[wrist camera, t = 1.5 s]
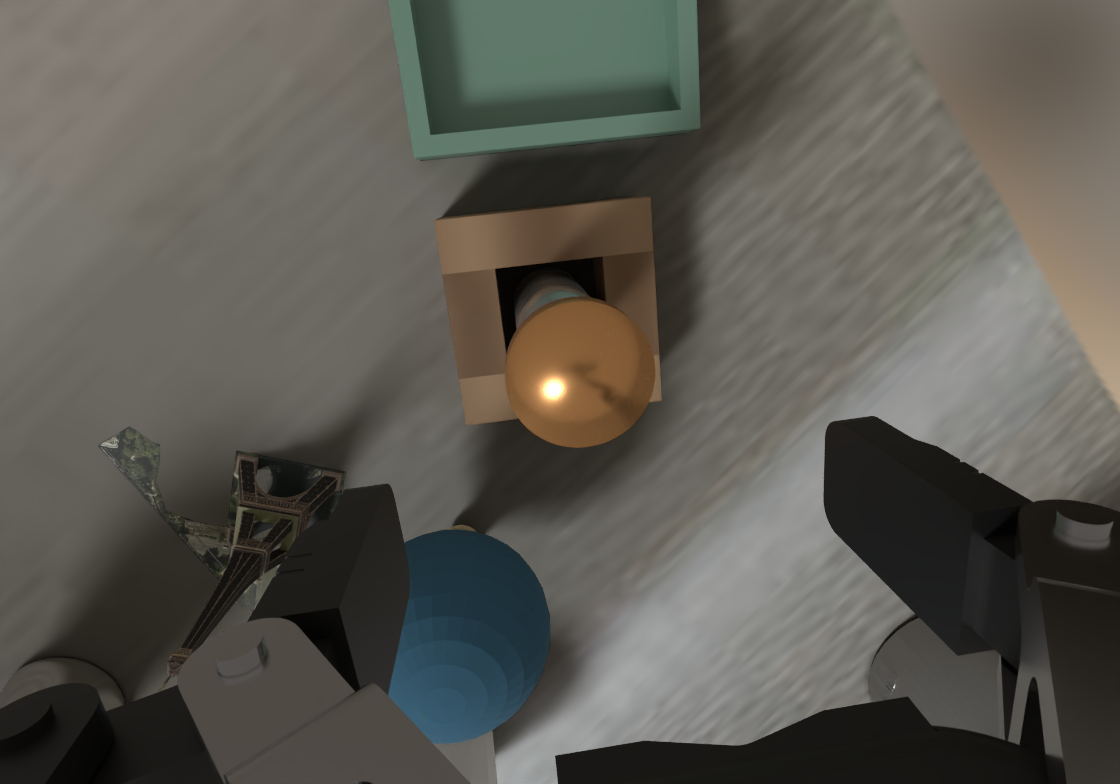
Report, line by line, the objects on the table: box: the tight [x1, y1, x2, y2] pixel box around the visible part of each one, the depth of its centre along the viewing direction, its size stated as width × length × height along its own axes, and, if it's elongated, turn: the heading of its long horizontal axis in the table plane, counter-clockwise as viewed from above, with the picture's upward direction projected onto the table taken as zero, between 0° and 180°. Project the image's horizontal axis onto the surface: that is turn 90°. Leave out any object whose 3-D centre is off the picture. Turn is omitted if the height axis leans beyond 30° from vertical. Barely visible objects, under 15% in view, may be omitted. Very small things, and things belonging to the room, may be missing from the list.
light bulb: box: [388, 525, 550, 744], centre depth 28 cm, size 8×8×12 cm
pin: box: [505, 267, 655, 448], centre depth 24 cm, size 4×4×13 cm
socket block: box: [434, 196, 662, 425], centre depth 29 cm, size 9×9×4 cm
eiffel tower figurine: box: [98, 427, 346, 693], centre depth 27 cm, size 15×10×13 cm
